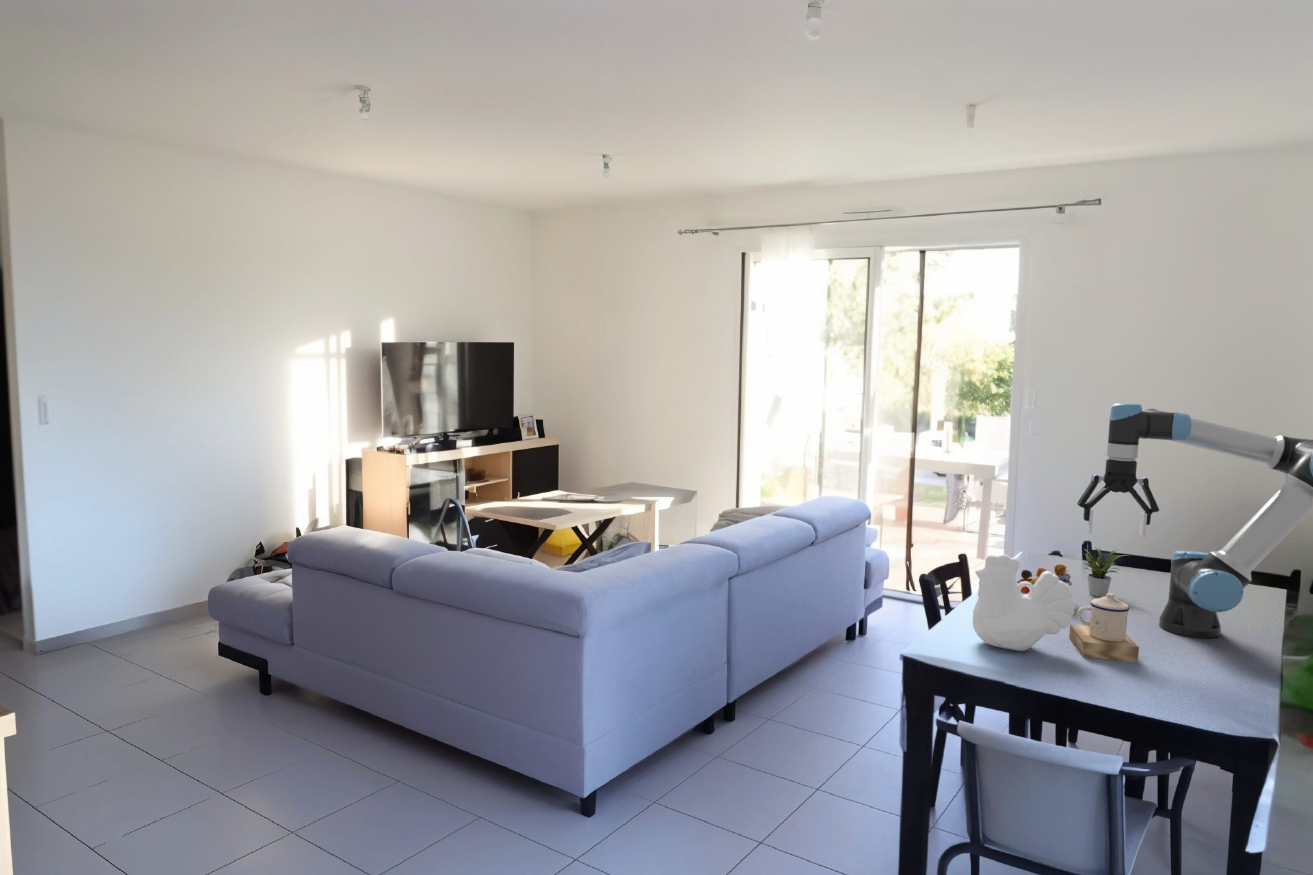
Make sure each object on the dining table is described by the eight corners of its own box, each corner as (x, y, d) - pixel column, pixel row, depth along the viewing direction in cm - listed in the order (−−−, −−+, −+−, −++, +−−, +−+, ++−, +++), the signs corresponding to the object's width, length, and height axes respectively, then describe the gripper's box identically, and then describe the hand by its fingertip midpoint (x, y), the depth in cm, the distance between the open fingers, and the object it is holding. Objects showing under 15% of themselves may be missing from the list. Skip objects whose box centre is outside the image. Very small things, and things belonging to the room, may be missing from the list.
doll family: (1064, 599, 276) (1068, 559, 275) (1088, 607, 267) (1091, 566, 266) (1011, 603, 270) (1014, 562, 268) (1033, 612, 261) (1036, 570, 259)
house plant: (1128, 594, 284) (1132, 545, 283) (1125, 603, 273) (1129, 553, 271) (1080, 586, 292) (1084, 539, 290) (1075, 595, 280) (1079, 547, 279)
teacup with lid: (1125, 634, 229) (1129, 592, 228) (1127, 644, 221) (1131, 600, 220) (1075, 627, 234) (1079, 585, 233) (1075, 636, 226) (1079, 593, 225)
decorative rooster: (968, 650, 225) (974, 557, 223) (972, 632, 240) (978, 545, 237) (1073, 666, 215) (1081, 570, 213) (1071, 647, 230) (1078, 557, 227)
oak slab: (1120, 643, 234) (1121, 628, 234) (1137, 662, 220) (1138, 647, 219) (1069, 638, 237) (1070, 624, 237) (1082, 656, 223) (1084, 641, 222)
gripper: (1166, 459, 238) (1159, 534, 240) (1069, 454, 243) (1063, 528, 246) (1176, 463, 230) (1169, 540, 233) (1076, 457, 236) (1070, 533, 238)
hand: (1115, 534), depth 239 cm, fingers open, 13 cm apart
